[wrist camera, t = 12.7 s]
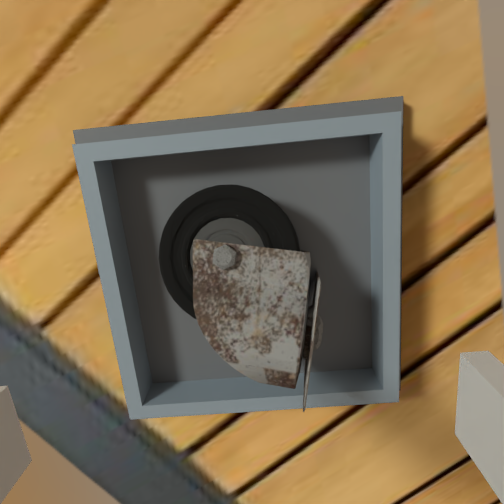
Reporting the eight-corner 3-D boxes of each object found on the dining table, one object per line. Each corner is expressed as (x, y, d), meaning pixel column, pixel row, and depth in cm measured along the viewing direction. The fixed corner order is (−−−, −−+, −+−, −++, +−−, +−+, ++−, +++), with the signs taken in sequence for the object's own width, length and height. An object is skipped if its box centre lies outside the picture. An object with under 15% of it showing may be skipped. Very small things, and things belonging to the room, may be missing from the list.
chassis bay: (80, 131, 24) (50, 127, 20) (397, 98, 23) (421, 88, 19) (135, 399, 29) (118, 432, 25) (395, 382, 28) (414, 413, 24)
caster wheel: (190, 188, 26) (335, 203, 24) (173, 345, 26) (313, 369, 25) (149, 170, 19) (345, 189, 18) (127, 381, 20) (315, 416, 18)
